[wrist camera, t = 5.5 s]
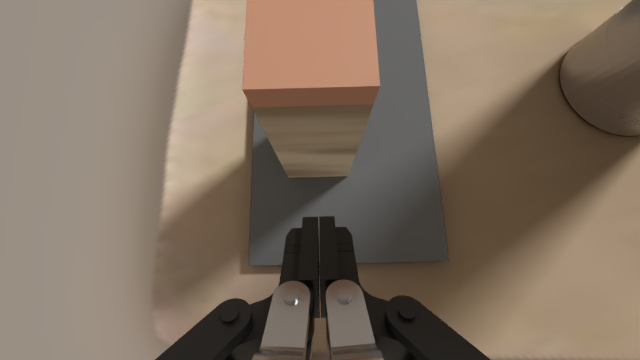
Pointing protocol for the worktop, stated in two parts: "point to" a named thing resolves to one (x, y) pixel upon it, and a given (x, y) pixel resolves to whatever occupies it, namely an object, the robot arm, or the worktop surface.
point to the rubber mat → (366, 167)
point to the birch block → (312, 79)
